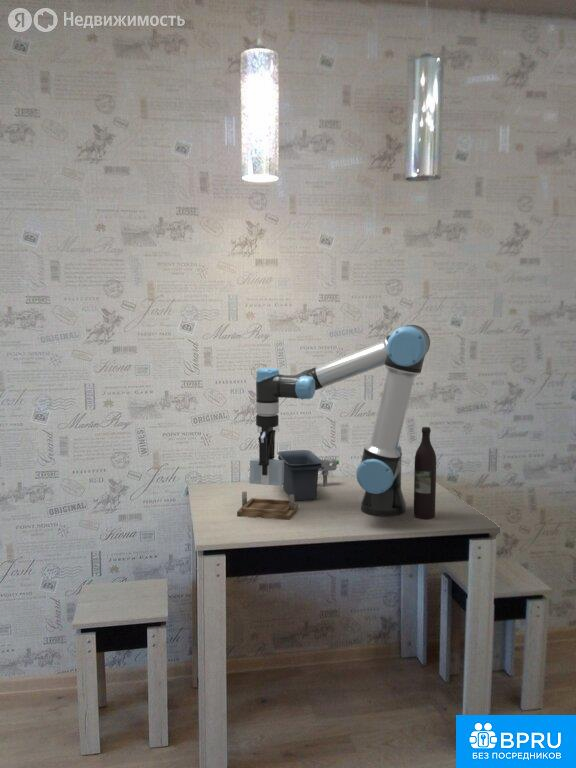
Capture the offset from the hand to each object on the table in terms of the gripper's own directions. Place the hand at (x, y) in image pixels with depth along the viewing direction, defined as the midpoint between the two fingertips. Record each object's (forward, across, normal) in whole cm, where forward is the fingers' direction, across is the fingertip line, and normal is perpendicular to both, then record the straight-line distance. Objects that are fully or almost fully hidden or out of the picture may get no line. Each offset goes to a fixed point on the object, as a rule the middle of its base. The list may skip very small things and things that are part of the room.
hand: (266, 482), depth 254 cm
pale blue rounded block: (0, 0, 0) cm, 0 cm away
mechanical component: (+10, -37, +14) cm, 41 cm away
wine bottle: (+10, -7, +52) cm, 54 cm away
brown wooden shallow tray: (+10, 0, 0) cm, 10 cm away
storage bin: (+11, -23, +6) cm, 26 cm away
